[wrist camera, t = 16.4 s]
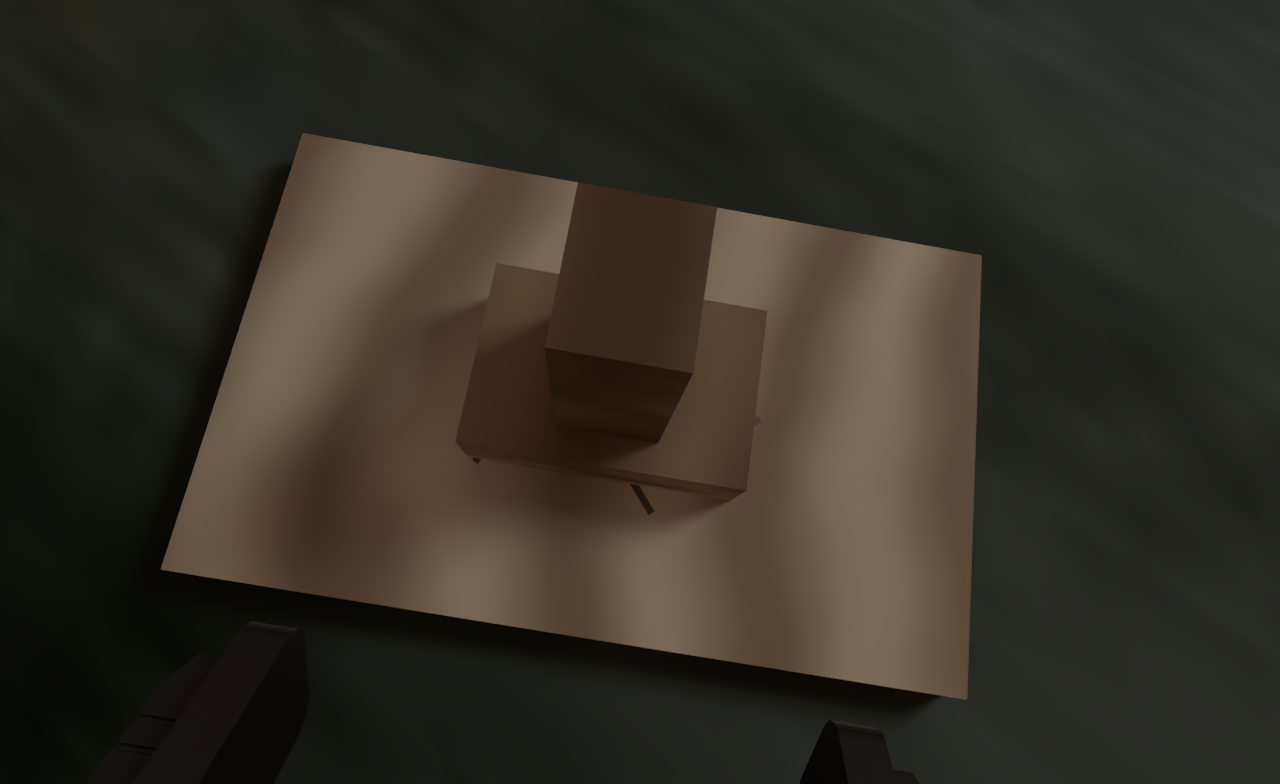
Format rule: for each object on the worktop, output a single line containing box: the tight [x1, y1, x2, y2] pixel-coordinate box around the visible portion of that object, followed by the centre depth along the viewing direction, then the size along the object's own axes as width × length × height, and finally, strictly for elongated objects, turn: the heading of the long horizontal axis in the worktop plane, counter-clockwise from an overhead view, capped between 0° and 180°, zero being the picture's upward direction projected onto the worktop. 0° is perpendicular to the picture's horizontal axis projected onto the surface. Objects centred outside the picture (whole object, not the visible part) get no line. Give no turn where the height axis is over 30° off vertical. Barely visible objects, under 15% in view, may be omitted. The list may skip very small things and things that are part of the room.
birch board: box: [161, 133, 982, 700], centre depth 27 cm, size 26×16×2 cm, turn 81°
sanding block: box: [455, 182, 767, 501], centre depth 21 cm, size 9×6×10 cm, turn 81°
